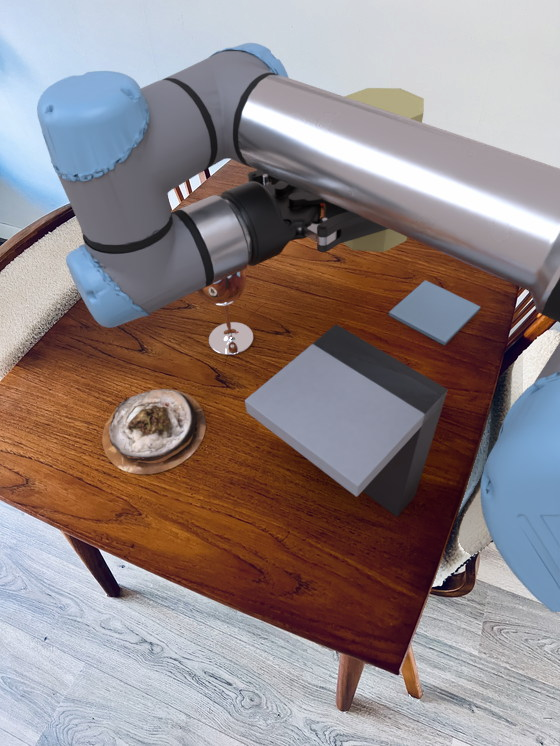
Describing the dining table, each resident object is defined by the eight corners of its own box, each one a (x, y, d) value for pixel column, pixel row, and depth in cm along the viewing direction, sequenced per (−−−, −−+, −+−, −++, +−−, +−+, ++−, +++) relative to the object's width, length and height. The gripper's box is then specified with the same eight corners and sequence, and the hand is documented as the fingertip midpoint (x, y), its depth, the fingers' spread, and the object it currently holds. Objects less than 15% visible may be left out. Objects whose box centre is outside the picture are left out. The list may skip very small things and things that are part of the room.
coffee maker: (415, 495, 67) (447, 389, 50) (346, 577, 61) (358, 486, 44) (331, 435, 74) (335, 323, 57) (262, 503, 67) (244, 400, 51)
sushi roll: (208, 387, 81) (204, 369, 77) (201, 472, 71) (196, 456, 68) (114, 392, 81) (106, 375, 78) (94, 477, 71) (84, 461, 68)
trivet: (479, 310, 88) (480, 306, 88) (444, 345, 84) (445, 342, 83) (424, 283, 94) (425, 279, 93) (388, 315, 89) (388, 312, 88)
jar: (388, 267, 58) (405, 133, 47) (317, 243, 62) (317, 114, 50) (421, 225, 63) (444, 95, 52) (354, 206, 67) (361, 80, 55)
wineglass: (263, 336, 87) (252, 234, 72) (231, 363, 84) (212, 263, 68) (230, 316, 91) (213, 216, 76) (198, 342, 87) (173, 242, 72)
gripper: (190, 217, 59) (347, 155, 67) (297, 320, 47) (473, 230, 55) (177, 153, 54) (350, 93, 61) (294, 252, 42) (491, 162, 49)
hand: (408, 158), depth 58 cm, fingers closed on jar, 8 cm apart
